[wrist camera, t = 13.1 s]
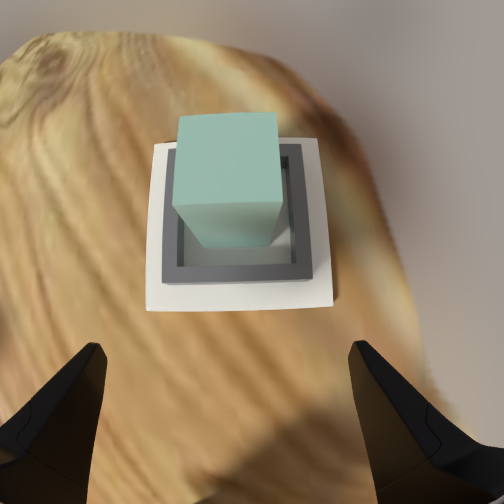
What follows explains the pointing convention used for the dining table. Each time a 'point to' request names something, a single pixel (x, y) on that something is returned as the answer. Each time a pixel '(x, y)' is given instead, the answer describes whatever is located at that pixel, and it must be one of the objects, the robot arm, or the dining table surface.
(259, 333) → the dining table surface
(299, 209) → the white grey square base
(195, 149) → the teal green block
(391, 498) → the robot arm
